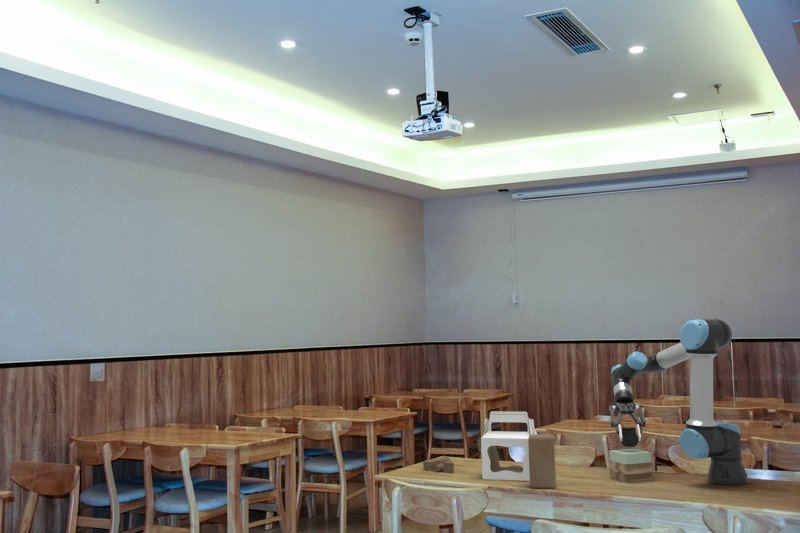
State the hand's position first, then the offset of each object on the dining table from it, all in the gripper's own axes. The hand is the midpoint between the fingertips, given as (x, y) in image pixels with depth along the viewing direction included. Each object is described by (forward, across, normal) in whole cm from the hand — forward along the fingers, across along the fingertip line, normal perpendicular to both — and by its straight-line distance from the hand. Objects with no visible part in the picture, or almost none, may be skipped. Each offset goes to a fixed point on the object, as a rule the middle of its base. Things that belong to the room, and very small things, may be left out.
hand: (630, 438), depth 335 cm
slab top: (+4, 0, -9) cm, 10 cm away
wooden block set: (-10, +78, -35) cm, 86 cm away
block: (+20, +36, -4) cm, 42 cm away
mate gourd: (0, 0, -5) cm, 5 cm away
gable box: (+5, +49, -19) cm, 53 cm away
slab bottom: (+10, 0, -15) cm, 18 cm away
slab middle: (+7, 0, -12) cm, 14 cm away
